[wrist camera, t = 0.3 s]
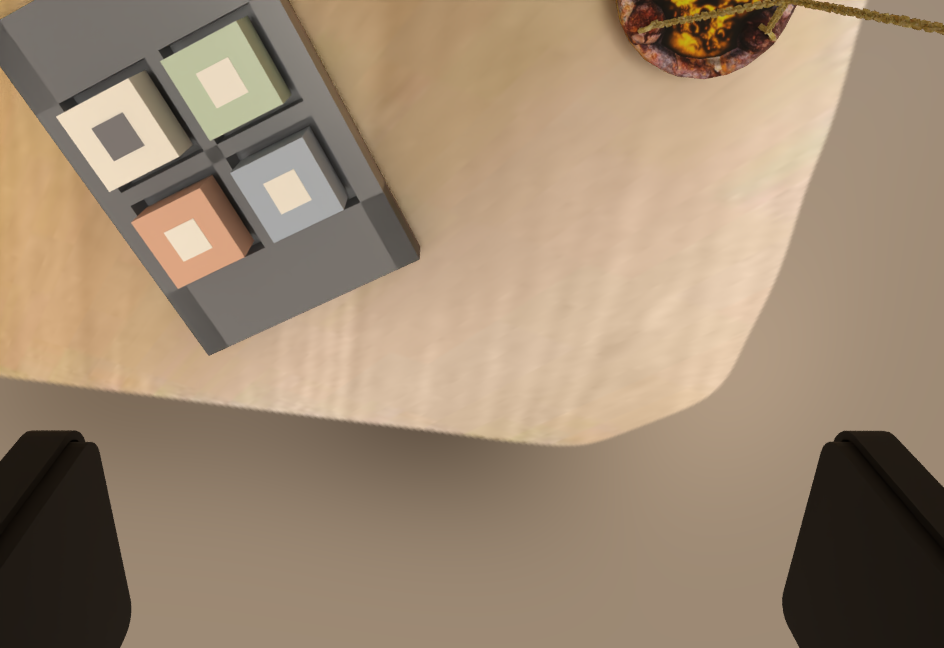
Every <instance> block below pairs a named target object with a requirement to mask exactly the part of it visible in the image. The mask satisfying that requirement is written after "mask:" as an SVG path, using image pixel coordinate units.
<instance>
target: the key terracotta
mask: <svg viewBox="0 0 944 648" xmlns="http://www.w3.org/2000/svg"><path fill="white" fill-rule="evenodd" d="M131 223H132V225H133V226H134V228H135V229H136V230H137V232H138V233H139V235H140V236H141V237H142V239H143V240H144V242H145V243H146V245H147V246H148V247H149V249H150V250H151V252H152V253H153V254H154V256H155V257H156V259H157V260H158V261H159V263H160V264H161V266H162V267H163V269H164V270H165V271H166V273H167V274H168V276H169V277H170V278H171V280H172V281H173V283H174V284H175V285H176V287H177V288H178V289H179V288H181V287H183V286H185V285H187V284H189V283H192V282H194V281H196V280H198V279H200V278H202V277H204V276H206V275H208V274H210V273H213V272H215V271H217V270H219V269H221V268H223V267H225V266H227V265H229V264H231V263H233V262H236V261H238V260H240V259H242V258H244V257H245V256H246V254H247V252H248V251H249V249H250V247H251V246H252V244H253V242H254V239H253V238H252V236H251V235H250V233H249V231H248V230H247V228H246V227H245V225H244V224H243V222H242V220H241V219H240V217H239V216H238V214H237V213H236V211H235V209H234V208H233V206H232V205H231V203H230V202H229V200H228V199H227V197H226V195H225V194H224V192H223V191H222V189H221V188H220V186H219V184H218V183H217V181H216V180H215V178H214V177H213V175H210V176H208V177H206V178H204V179H202V180H200V181H198V182H196V183H194V184H192V185H190V186H188V187H186V188H184V189H182V190H180V191H178V192H176V193H174V194H172V195H170V196H168V197H166V198H164V199H162V200H160V201H158V202H156V203H154V204H152V205H150V206H148V207H146V208H145V209H144V210H143V211H142V212H141V213H140V214H139V215H138V216H137V217H136V218H135V219H134V220H133V221H132V222H131Z"/></svg>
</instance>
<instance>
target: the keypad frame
mask: <svg viewBox="0 0 944 648" xmlns="http://www.w3.org/2000/svg"><path fill="white" fill-rule="evenodd" d="M246 16H248V18H249V19H250V21H251V23H252V25H253V27H254V28H255V30H256V32H257V34H258V35H259V37H260V39H261V41H262V43H263V44H264V46H265V48H266V50H267V51H268V53H269V55H270V57H271V59H272V60H273V62H274V64H275V66H276V67H277V69H278V71H279V73H280V75H281V76H282V78H283V80H284V82H285V83H286V85H287V87H288V89H289V91H290V92H291V94H292V95H291V96H290V97H289V98H288V99H287V100H286V101H285V103H284V104H282V105H280V106H278V107H276V108H274V109H272V110H270V111H268V112H266V113H264V114H262V115H260V116H258V117H256V118H254V119H252V120H251V121H249V122H247V123H245V124H243V125H241V126H239V127H237V128H235V129H233V130H231V131H229V132H227V133H225V134H223V135H221V136H219V137H217V138H215V139H213V140H211V141H210V140H209V139H208V137H207V136H206V134H205V132H204V131H203V129H202V128H201V126H200V124H199V123H198V121H197V120H196V118H195V116H194V115H193V113H192V112H191V110H190V108H189V107H188V105H187V104H186V102H185V100H184V99H183V97H182V96H181V94H180V92H179V91H178V89H177V88H176V86H175V84H174V83H173V81H172V80H171V78H170V77H169V75H168V73H167V72H166V70H165V69H164V67H163V65H162V64H161V62H160V61H161V60H163V59H165V58H167V57H169V56H171V55H173V54H175V53H177V52H178V51H180V50H182V49H184V48H186V47H188V46H190V45H192V44H193V43H195V42H197V41H199V40H201V39H203V38H205V37H207V36H208V35H210V34H212V33H214V32H216V31H218V30H220V29H222V28H224V27H225V26H227V25H229V24H231V23H233V22H235V21H237V20H239V19H241V18H244V17H246ZM0 67H1V68H2V70H3V71H4V72H5V74H6V75H7V76H8V78H9V79H10V81H11V82H12V83H13V85H14V86H15V88H16V89H17V90H18V92H19V93H20V95H21V96H22V97H23V99H24V100H25V101H26V103H27V104H28V106H29V107H30V108H31V110H32V111H33V113H34V114H35V115H36V117H37V118H38V120H39V121H40V122H41V124H42V125H43V126H44V128H45V129H46V131H47V132H48V133H49V135H50V136H51V138H52V139H53V140H54V142H55V143H56V145H57V146H58V147H59V149H60V150H61V151H62V153H63V154H64V156H65V157H66V158H67V160H68V161H69V163H70V164H71V165H72V167H73V168H74V170H75V171H76V172H77V174H78V175H79V176H80V178H81V179H82V181H83V182H84V183H85V185H86V186H87V188H88V189H89V190H90V192H91V193H92V194H93V196H94V197H95V199H96V200H97V201H98V203H99V204H100V206H101V207H102V208H103V210H104V211H105V213H106V214H107V215H108V217H109V218H110V219H111V221H112V222H113V224H114V225H115V226H116V228H117V229H118V231H119V232H120V233H121V235H122V236H123V238H124V239H125V240H126V242H127V243H128V244H129V246H130V247H131V249H132V250H133V251H134V253H135V254H136V256H137V257H138V258H139V260H140V261H141V263H142V264H143V265H144V267H145V268H146V269H147V271H148V272H149V274H150V275H151V276H152V278H153V279H154V281H155V282H156V283H157V285H158V286H159V288H160V289H161V290H162V292H163V293H164V294H165V296H166V297H167V299H168V300H169V301H170V303H171V304H172V306H173V307H174V308H175V310H176V311H177V312H178V314H179V315H180V317H181V318H182V319H183V321H184V322H185V324H186V325H187V326H188V328H189V329H190V331H191V332H192V333H193V335H194V336H195V337H196V339H197V340H198V342H199V343H200V344H201V346H202V347H203V349H204V350H205V351H206V353H207V354H208V356H210V355H212V354H214V353H216V352H218V351H221V350H223V349H225V348H227V347H229V346H231V345H234V344H236V343H238V342H240V341H242V340H245V339H247V338H249V337H251V336H253V335H255V334H258V333H260V332H262V331H264V330H266V329H269V328H271V327H273V326H275V325H277V324H280V323H282V322H284V321H286V320H288V319H290V318H293V317H295V316H297V315H299V314H301V313H304V312H306V311H308V310H310V309H312V308H314V307H317V306H319V305H321V304H323V303H325V302H328V301H330V300H332V299H334V298H336V297H339V296H341V295H343V294H345V293H347V292H349V291H352V290H354V289H356V288H358V287H360V286H363V285H365V284H367V283H369V282H371V281H373V280H376V279H378V278H380V277H382V276H384V275H387V274H389V273H391V272H393V271H395V270H398V269H400V268H402V267H404V266H406V265H408V264H411V263H413V262H415V261H417V260H419V259H420V245H419V244H418V242H417V240H416V238H415V236H414V234H413V232H412V230H411V229H410V227H409V225H408V223H407V221H406V219H405V217H404V216H403V214H402V212H401V210H400V208H399V206H398V204H397V202H396V201H395V199H394V197H393V195H392V193H391V191H390V189H389V187H388V186H387V184H386V182H385V180H384V178H383V176H382V174H381V173H380V171H379V169H378V167H377V165H376V163H375V161H374V159H373V158H372V156H371V154H370V152H369V150H368V148H367V146H366V145H365V143H364V141H363V139H362V137H361V135H360V133H359V131H358V130H357V128H356V126H355V124H354V122H353V120H352V118H351V116H350V115H349V113H348V111H347V109H346V107H345V105H344V103H343V102H342V100H341V98H340V96H339V94H338V92H337V90H336V88H335V87H334V85H333V83H332V81H331V79H330V77H329V75H328V74H327V72H326V70H325V68H324V66H323V64H322V62H321V60H320V59H319V57H318V55H317V53H316V51H315V49H314V47H313V45H312V44H311V42H310V40H309V38H308V36H307V34H306V32H305V31H304V29H303V27H302V25H301V23H300V21H299V19H298V17H297V16H296V14H295V12H294V10H293V8H292V6H291V4H290V3H289V1H288V0H34V1H32V2H31V3H29V4H27V5H25V6H23V7H22V8H20V9H18V10H16V11H15V12H13V13H11V14H9V15H7V16H6V17H4V18H2V19H0ZM144 70H146V72H147V73H148V75H149V76H150V78H151V79H152V81H153V83H154V84H155V86H156V87H157V89H158V90H159V92H160V94H161V95H162V97H163V98H164V100H165V101H166V103H167V105H168V106H169V108H170V109H171V111H172V112H173V114H174V115H175V117H176V119H177V120H178V122H179V123H180V125H181V126H182V128H183V130H184V131H185V133H186V134H187V136H188V137H189V139H190V141H191V142H192V144H193V145H192V146H191V147H190V148H189V149H187V150H186V151H185V152H184V153H183V154H182V155H181V156H179V157H178V158H176V159H174V160H172V161H170V162H168V163H166V164H164V165H162V166H160V167H158V168H156V169H154V170H152V171H150V172H148V173H146V174H144V175H142V176H140V177H138V178H136V179H134V180H132V181H130V182H128V183H126V184H124V185H122V186H120V187H118V188H116V189H115V190H113V191H111V192H109V191H108V190H107V188H106V187H105V185H104V184H103V182H102V181H101V180H100V178H99V177H98V175H97V174H96V173H95V171H94V170H93V168H92V167H91V166H90V164H89V163H88V161H87V160H86V158H85V157H84V156H83V154H82V153H81V151H80V150H79V149H78V147H77V146H76V144H75V143H74V142H73V140H72V139H71V137H70V136H69V135H68V133H67V132H66V130H65V129H64V127H63V126H62V125H61V123H60V122H59V120H58V119H57V118H56V116H58V115H60V114H62V113H64V112H66V111H68V110H69V109H71V108H73V107H75V106H77V105H79V104H81V103H83V102H84V101H86V100H88V99H90V98H92V97H94V96H96V95H98V94H99V93H101V92H103V91H105V90H107V89H109V88H111V87H113V86H114V85H116V84H118V83H120V82H122V81H124V80H126V79H128V78H130V77H132V76H134V75H136V74H138V73H140V72H142V71H144ZM309 126H310V128H311V130H312V131H313V133H314V135H315V137H316V139H317V140H318V142H319V144H320V146H321V147H322V149H323V151H324V153H325V155H326V156H327V158H328V160H329V162H330V163H331V165H332V167H333V169H334V171H335V172H336V174H337V176H338V178H339V179H340V181H341V183H342V185H343V187H344V188H345V190H346V192H347V194H348V195H349V196H348V199H347V202H346V205H345V208H344V210H343V211H340V212H338V213H336V214H334V215H332V216H330V217H328V218H326V219H324V220H322V221H320V222H317V223H315V224H313V225H311V226H309V227H307V228H305V229H303V230H301V231H299V232H296V233H294V234H292V235H290V236H288V237H286V238H284V239H282V240H280V241H278V242H275V243H274V242H273V241H272V239H271V238H270V236H269V234H268V233H267V231H266V230H265V228H264V226H263V225H262V223H261V222H260V220H259V218H258V217H257V215H256V214H255V212H254V210H253V209H252V207H251V206H250V204H249V202H248V201H247V199H246V198H245V196H244V195H243V193H242V191H241V190H240V188H239V187H238V185H237V183H236V182H235V180H234V179H233V177H232V175H231V174H230V173H231V171H232V170H233V169H234V168H235V167H236V165H237V164H238V163H239V162H240V161H241V160H242V159H244V158H246V157H248V156H250V155H252V154H254V153H256V152H258V151H260V150H262V149H264V148H266V147H268V146H270V145H272V144H274V143H276V142H278V141H280V140H282V139H284V138H286V137H288V136H290V135H292V134H294V133H297V132H299V131H301V130H303V129H305V128H307V127H309ZM210 175H213V177H214V178H215V180H216V181H217V183H218V184H219V186H220V188H221V189H222V191H223V192H224V194H225V195H226V197H227V199H228V200H229V202H230V203H231V205H232V206H233V208H234V209H235V211H236V213H237V214H238V216H239V217H240V219H241V220H242V222H243V224H244V225H245V227H246V228H247V230H248V231H249V233H250V235H251V236H252V238H253V239H254V242H253V244H252V246H251V247H250V249H249V251H248V252H247V254H246V256H245V257H244V258H242V259H240V260H238V261H236V262H233V263H231V264H229V265H227V266H225V267H223V268H221V269H219V270H217V271H215V272H213V273H210V274H208V275H206V276H204V277H202V278H200V279H198V280H196V281H194V282H192V283H189V284H187V285H185V286H183V287H181V288H179V289H178V288H177V287H176V285H175V284H174V283H173V281H172V280H171V278H170V277H169V276H168V274H167V273H166V271H165V270H164V269H163V267H162V266H161V264H160V263H159V261H158V260H157V259H156V257H155V256H154V254H153V253H152V252H151V250H150V249H149V247H148V246H147V245H146V243H145V242H144V240H143V239H142V237H141V236H140V235H139V233H138V232H137V230H136V229H135V228H134V226H133V225H132V223H131V222H132V221H133V220H134V219H135V218H136V217H137V216H138V215H139V214H140V213H141V212H142V211H143V210H144V209H145V208H146V207H148V206H150V205H152V204H154V203H156V202H158V201H160V200H162V199H164V198H166V197H168V196H170V195H172V194H174V193H176V192H178V191H180V190H182V189H184V188H186V187H188V186H190V185H192V184H194V183H196V182H198V181H200V180H202V179H204V178H206V177H208V176H210Z"/></svg>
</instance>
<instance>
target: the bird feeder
mask: <svg viewBox="0 0 944 648" xmlns="http://www.w3.org/2000/svg"><path fill="white" fill-rule="evenodd" d="M616 4H617V9H618V14H619V19H620V23H621V25H622V27H623V29H624V31H625V33H626V36H627V38H628V40H629V42H630V43H631V44H632V45H633V46H634V48H635V49H636V50H637V51H638V52H639V53H640V55H641V56H642V57H643V58H644V59H645V60H646V61H648V62H650V63H651V64H653V65H655V66H656V67H658V68H660V69H662V70H663V71H665V72H668V73H670V74H673V75H675V76H680V77H689V78H699V79H708V78H712V77H717V76H722V75H727V74H729V73H732V72H734V71H736V70H738V69H740V68H743V67H745V66H747V65H748V64H749V63H751V62H752V61H753V60H755V59H756V58H757V57H759V56H760V55H761V54H762V53H764V52H765V51H766V50H768V49H769V48H770V47H771V46H772V45H773V44H774V43H775V41H776V40H777V39H778V37H779V36H780V34H781V33H782V31H783V30H784V28H785V27H786V25H787V23H788V21H789V19H790V17H791V15H792V13H793V11H794V9H795V8H796V6H797V5H799V6H803V5H804V7H805V8H810V7H811V9H818V10H822V11H823V10H824V11H826V12H829V13H831V11H832V12H834V13H836V14H838V13H840V14H841V15H844V16H846V14H847V16H856V18H860V19H861V18H865V20H871V19H873V20H875V21H877V22H881V21H882V22H883V23H886V24H888V23H893V24H894V25H899V26H901V25H902V27H908V28H911V27H912V28H913V29H916V30H921V29H924V30H925V32H934V31H935V32H937V33H940V34H942V35H944V25H943V23H938V22H934V23H931V22H930V21H926V20H922V21H920V19H916V18H913V19H910V18H909V17H908V16H904V15H902V16H901V17H900V16H899V15H893V14H892V15H890V16H889V14H888V13H884V14H879V12H876V11H871V12H870V10H868V9H864V8H863V10H860V9H858V8H854V9H853V7H845V6H844V5H838V4H834V3H832V4H830V3H829V2H824V3H823V2H819V1H812V0H616ZM837 5H838V6H837Z"/></svg>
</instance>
